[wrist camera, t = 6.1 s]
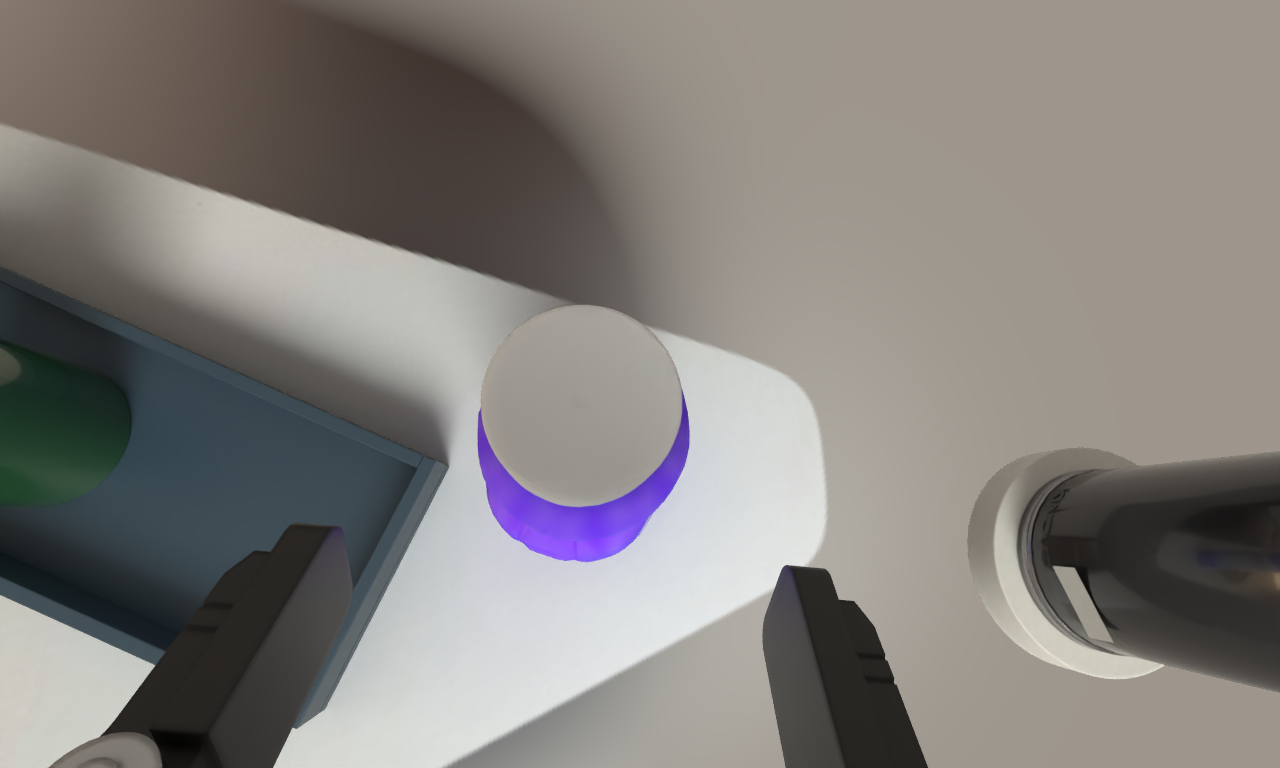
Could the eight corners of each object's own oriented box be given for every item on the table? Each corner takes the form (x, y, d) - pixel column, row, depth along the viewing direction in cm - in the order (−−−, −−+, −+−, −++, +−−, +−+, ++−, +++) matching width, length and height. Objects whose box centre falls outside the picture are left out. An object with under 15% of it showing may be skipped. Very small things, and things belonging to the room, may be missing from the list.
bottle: (618, 565, 28) (667, 625, 11) (501, 525, 28) (373, 526, 11) (665, 418, 30) (769, 277, 13) (555, 381, 30) (516, 191, 13)
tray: (449, 466, 28) (436, 460, 26) (325, 709, 26) (296, 730, 23) (-168, 191, 29) (-241, 159, 26) (-356, 401, 26) (-457, 388, 24)
